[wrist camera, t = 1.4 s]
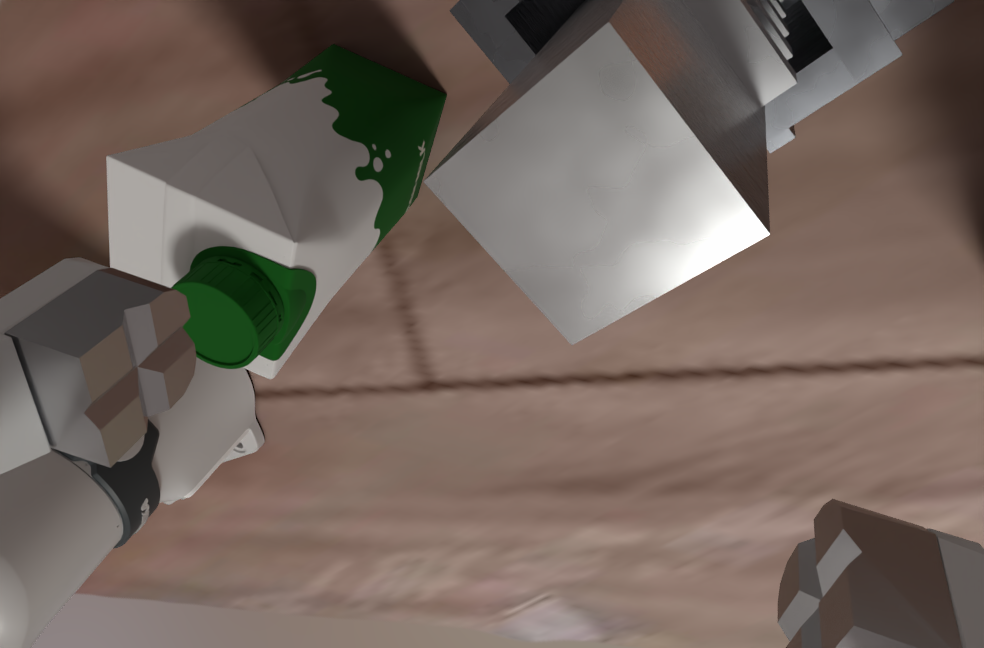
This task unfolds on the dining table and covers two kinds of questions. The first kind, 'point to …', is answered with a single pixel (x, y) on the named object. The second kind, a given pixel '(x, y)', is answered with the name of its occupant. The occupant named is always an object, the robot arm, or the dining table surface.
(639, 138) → the column
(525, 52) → the stand
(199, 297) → the milk carton
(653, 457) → the dining table surface
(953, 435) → the dining table surface
